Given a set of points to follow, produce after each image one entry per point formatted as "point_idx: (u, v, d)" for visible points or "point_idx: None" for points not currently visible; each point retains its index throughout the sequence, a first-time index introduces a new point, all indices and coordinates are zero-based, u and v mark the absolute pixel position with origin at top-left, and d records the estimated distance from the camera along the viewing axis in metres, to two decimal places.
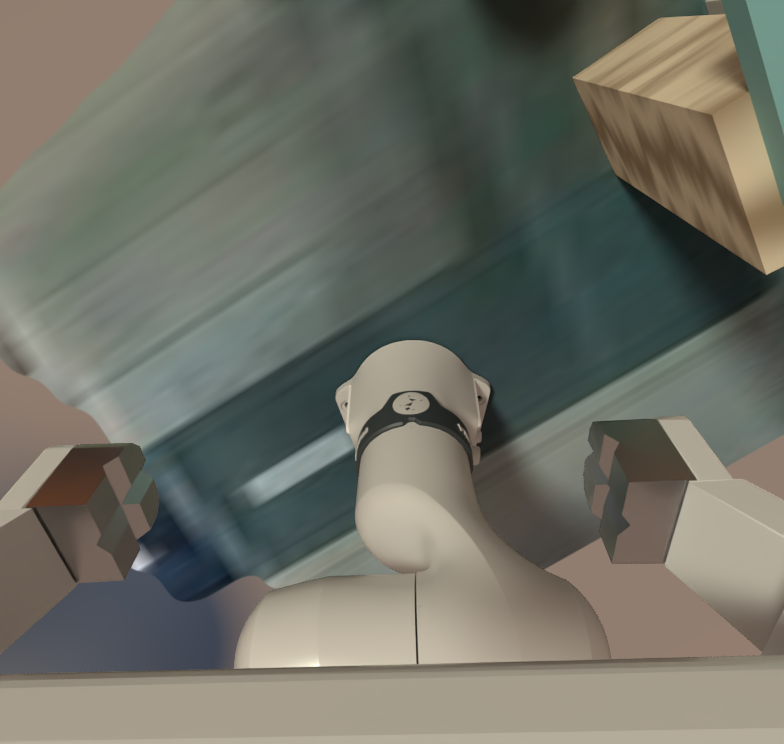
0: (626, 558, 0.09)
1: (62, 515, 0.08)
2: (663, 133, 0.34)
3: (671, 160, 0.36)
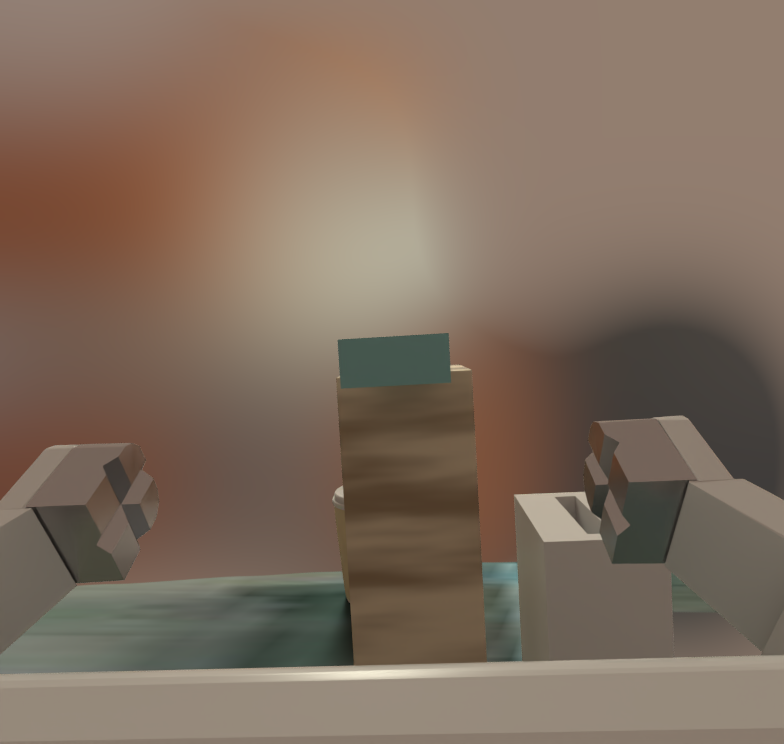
0: (627, 558, 0.09)
1: (62, 515, 0.08)
2: None
3: None
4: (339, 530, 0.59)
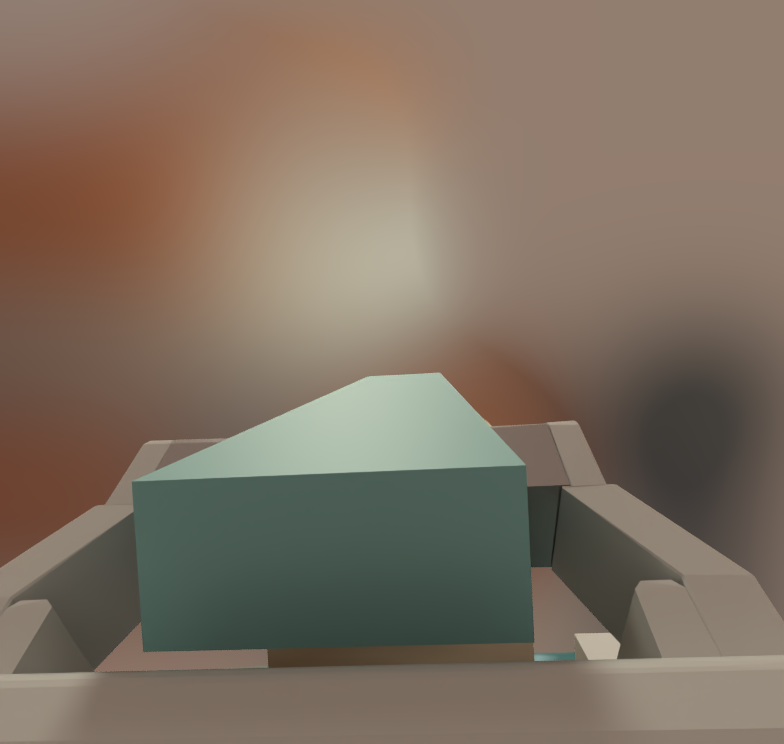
0: None
1: None
2: None
3: None
4: None
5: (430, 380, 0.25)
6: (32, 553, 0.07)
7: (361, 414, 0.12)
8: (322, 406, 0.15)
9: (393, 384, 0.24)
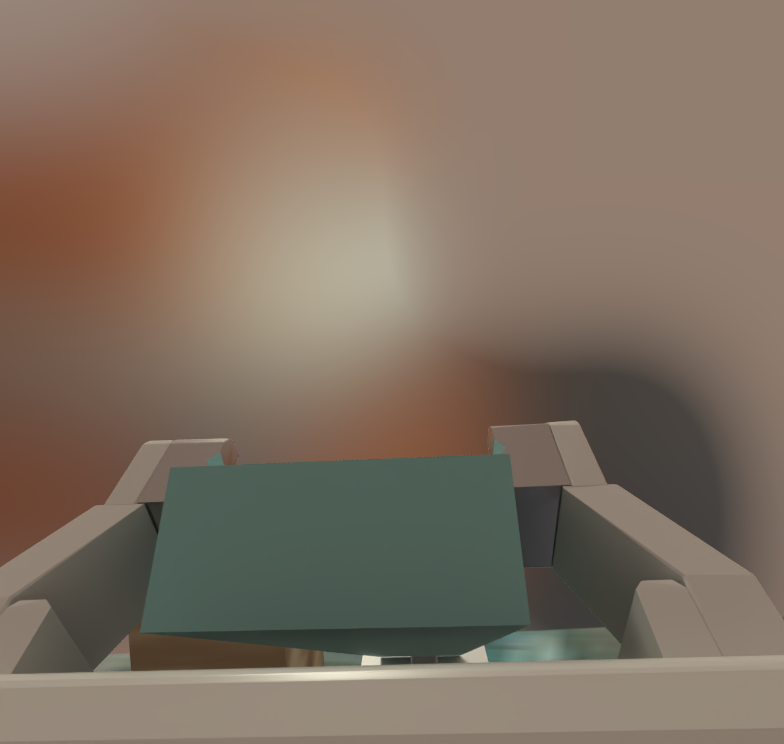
0: None
1: None
2: None
3: None
4: None
5: None
6: (31, 553, 0.07)
7: None
8: None
9: None
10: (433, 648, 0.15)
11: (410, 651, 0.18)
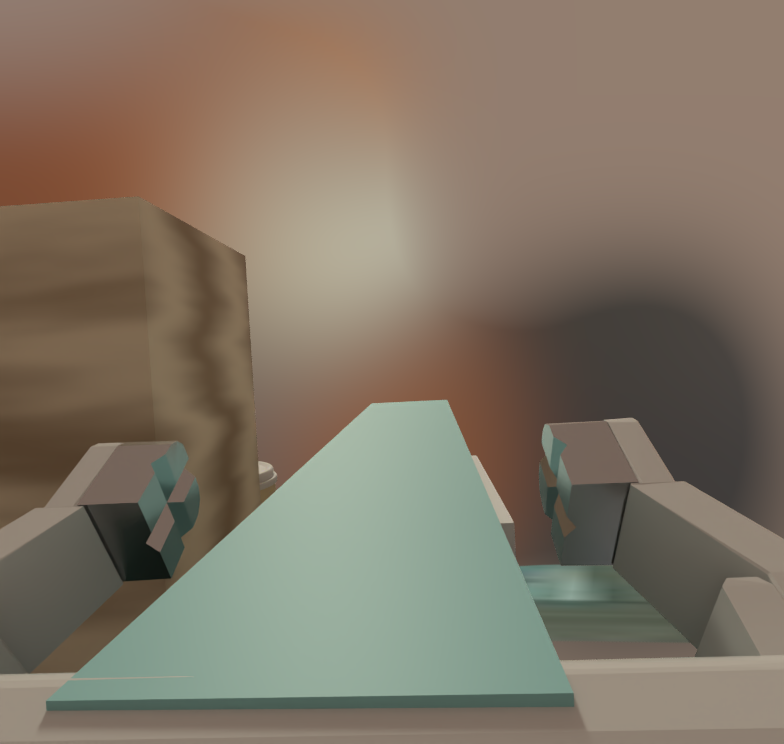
0: (575, 560, 0.09)
1: (113, 513, 0.08)
2: None
3: None
4: None
5: (437, 417, 0.24)
6: None
7: (359, 502, 0.11)
8: (317, 476, 0.13)
9: (397, 424, 0.22)
10: None
11: None
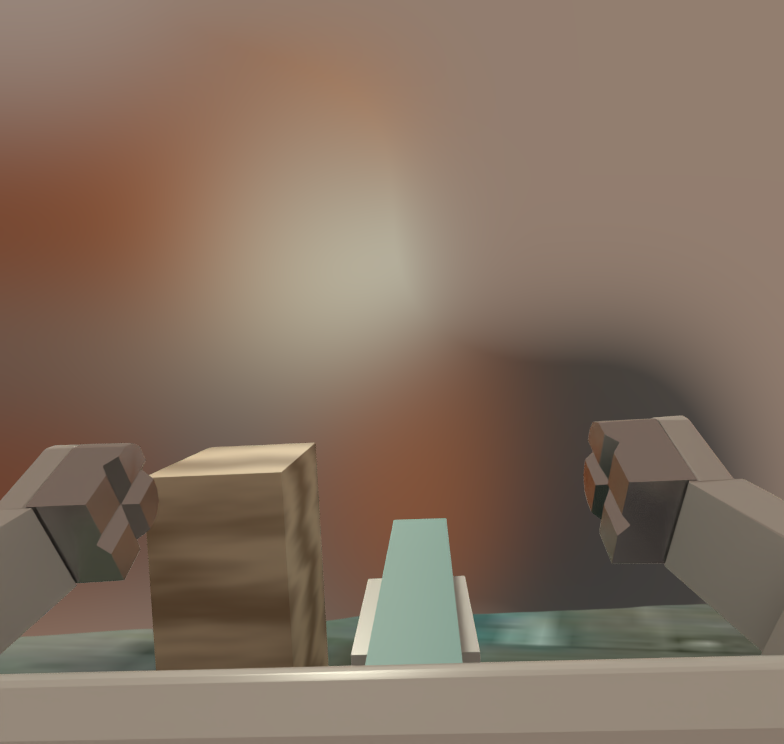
0: (627, 558, 0.09)
1: (62, 515, 0.08)
2: None
3: None
4: None
5: (439, 556, 0.38)
6: None
7: None
8: (383, 638, 0.27)
9: (416, 567, 0.36)
10: None
11: None
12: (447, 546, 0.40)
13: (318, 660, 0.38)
